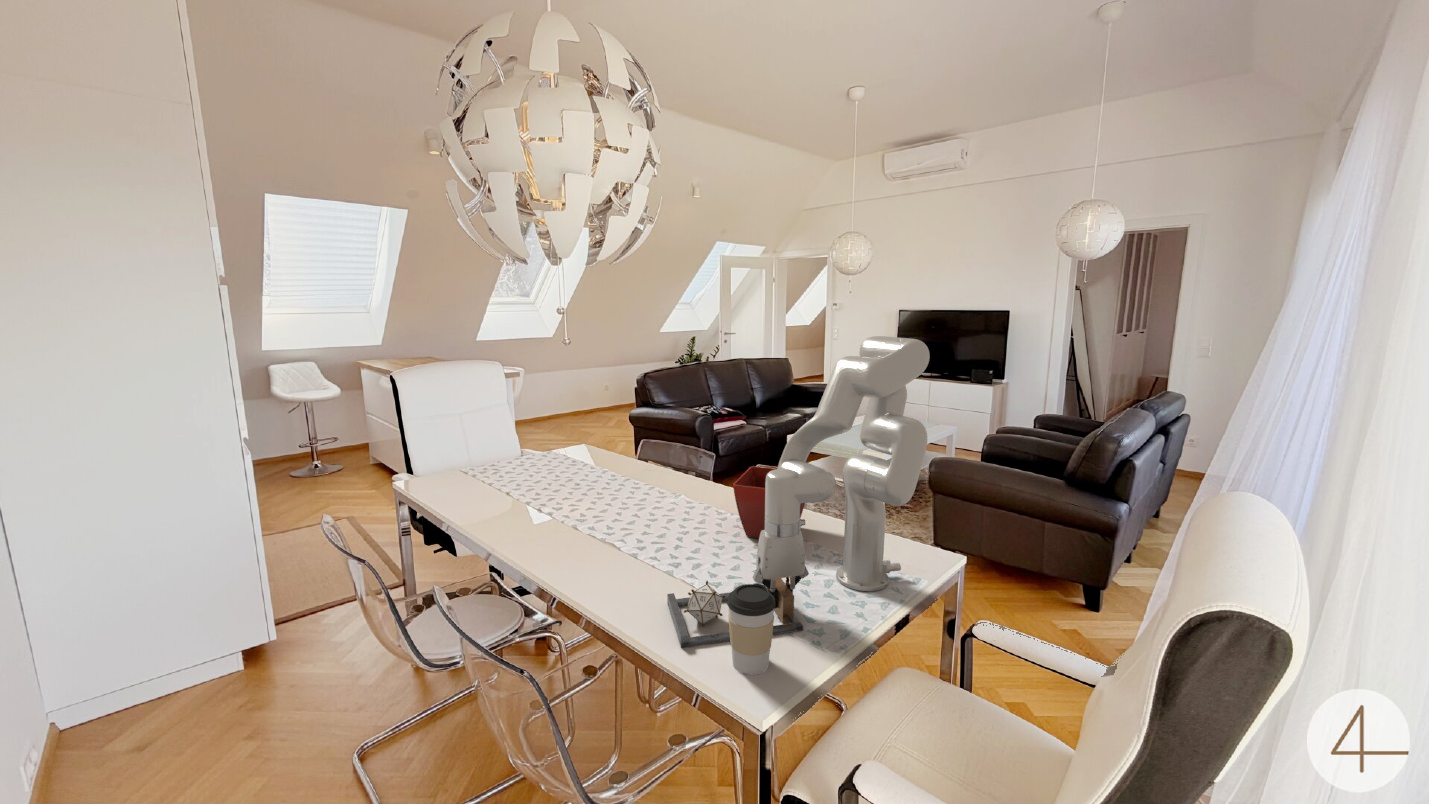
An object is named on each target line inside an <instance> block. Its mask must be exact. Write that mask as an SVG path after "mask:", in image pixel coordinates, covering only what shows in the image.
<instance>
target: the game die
mask: <svg viewBox="0 0 1429 804" xmlns="http://www.w3.org/2000/svg"><path fill="white" fill-rule="evenodd" d="M687 594H688V595H689V597H690V599H689V603H688V605H687V608H686V609H684V611H683V613H684V614H686V613H689V615H691V616H692V617H693V618H694V619H696V621H698V622H699V623H700V624H701V628H702V629H704V627H705V626H704V625H705V624H706V623H708V622H710V621H711V620H712V619H714V618H716V619H718V618H719V616H720V617H723V613H721V611H722V610H721V609H722V603H723V601H722V598H725V597H726V596H725V595H724V596H721V595H720V594H721V593H718V592H717V591H716V590H715V589H714V588H712V587H711V586H710V585H709V581H708V580H706V581H705V585H703V586H700V587H699V588H697V589H696V590H694V589H693V588H692V589H691V592H687Z"/></svg>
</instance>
